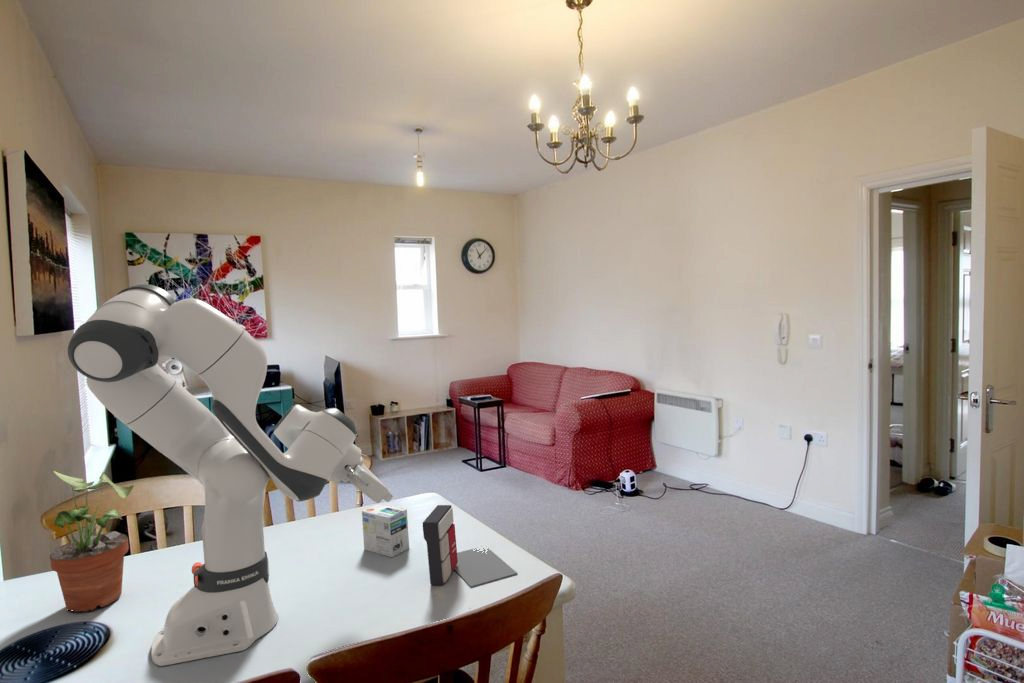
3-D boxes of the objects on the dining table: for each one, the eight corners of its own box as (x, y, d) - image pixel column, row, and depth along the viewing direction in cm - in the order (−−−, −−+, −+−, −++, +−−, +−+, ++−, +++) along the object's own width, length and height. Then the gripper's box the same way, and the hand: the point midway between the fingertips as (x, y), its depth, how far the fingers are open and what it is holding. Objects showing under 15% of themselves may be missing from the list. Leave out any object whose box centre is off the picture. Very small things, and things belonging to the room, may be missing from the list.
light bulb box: (410, 548, 151) (408, 508, 151) (392, 558, 146) (389, 517, 145) (381, 540, 157) (379, 502, 156) (362, 550, 151) (360, 510, 151)
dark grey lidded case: (445, 586, 130) (440, 522, 129) (427, 585, 131) (422, 522, 129) (459, 563, 141) (454, 504, 139) (442, 562, 141) (437, 504, 140)
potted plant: (85, 625, 119) (70, 461, 117) (38, 614, 124) (23, 457, 122) (155, 589, 134) (143, 443, 131) (110, 581, 139) (98, 440, 137)
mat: (470, 587, 129) (470, 586, 129) (442, 557, 145) (442, 556, 145) (517, 574, 135) (517, 572, 135) (485, 546, 150) (485, 545, 150)
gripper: (362, 460, 115) (411, 498, 120) (342, 440, 133) (386, 474, 138) (341, 486, 113) (391, 523, 118) (324, 462, 131) (368, 495, 137)
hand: (388, 497), depth 128 cm, fingers closed
